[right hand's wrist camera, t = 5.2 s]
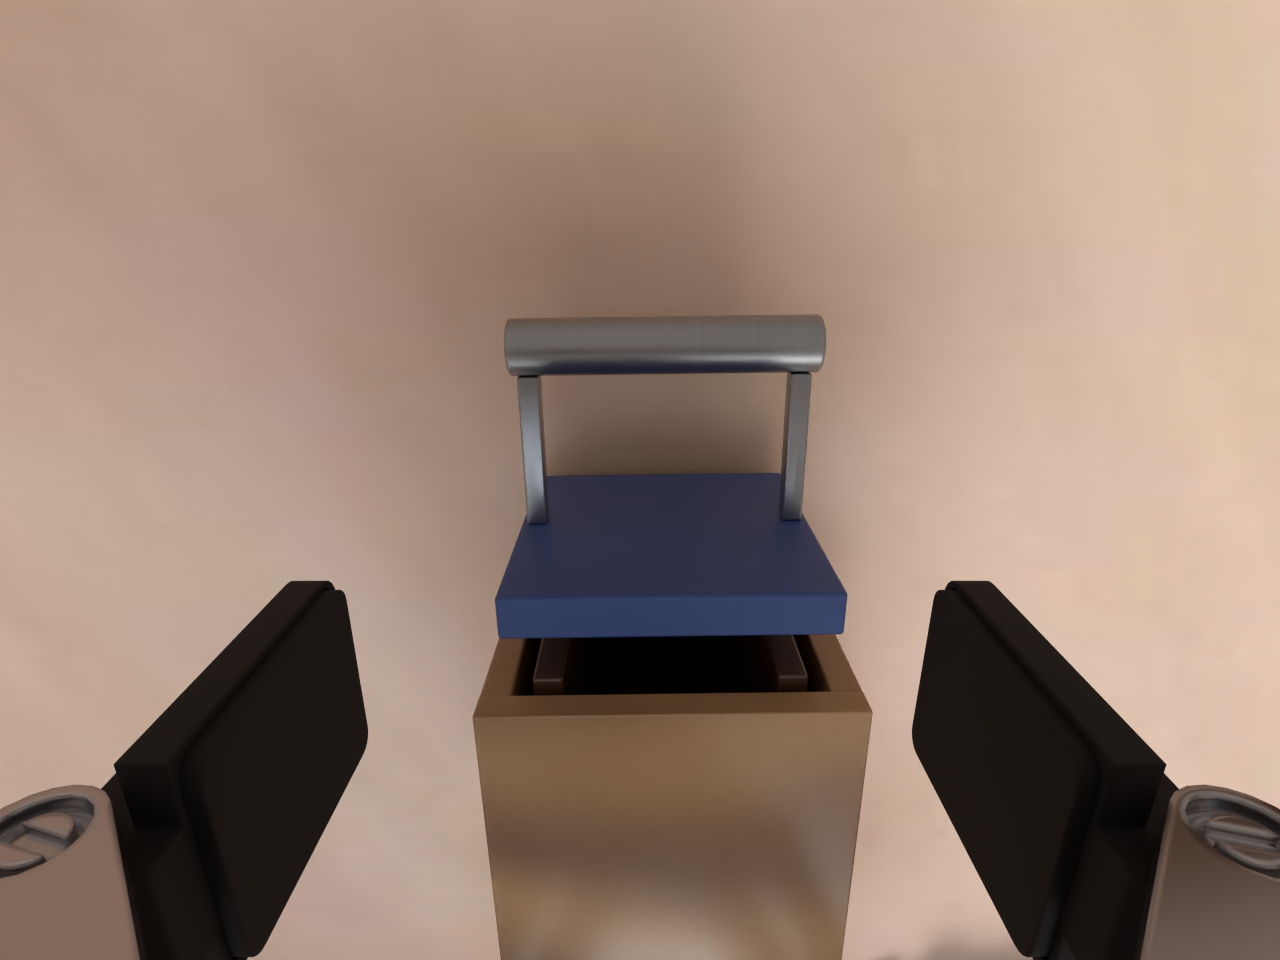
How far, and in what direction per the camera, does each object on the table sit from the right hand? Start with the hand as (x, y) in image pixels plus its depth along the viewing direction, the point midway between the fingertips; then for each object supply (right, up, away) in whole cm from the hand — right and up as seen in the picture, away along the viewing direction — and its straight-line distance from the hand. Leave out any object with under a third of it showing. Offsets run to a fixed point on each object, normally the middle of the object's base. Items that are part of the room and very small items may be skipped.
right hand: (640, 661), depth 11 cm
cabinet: (+1, -9, +20) cm, 22 cm away
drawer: (+1, -3, +17) cm, 17 cm away
